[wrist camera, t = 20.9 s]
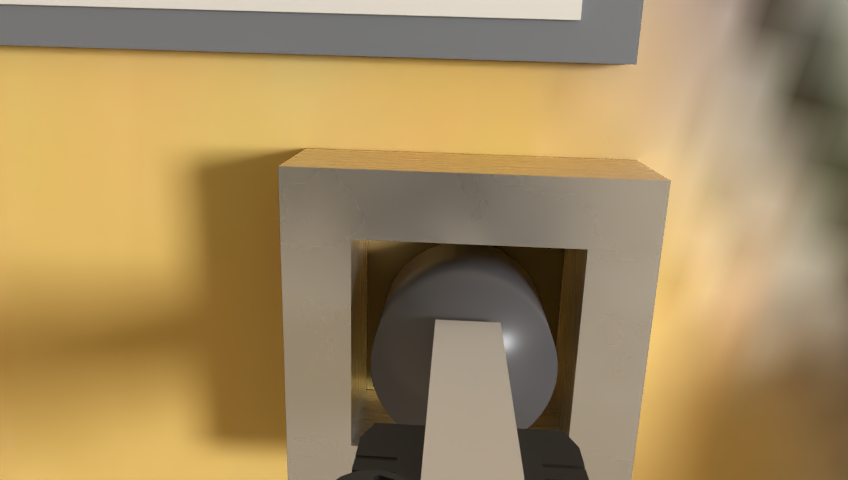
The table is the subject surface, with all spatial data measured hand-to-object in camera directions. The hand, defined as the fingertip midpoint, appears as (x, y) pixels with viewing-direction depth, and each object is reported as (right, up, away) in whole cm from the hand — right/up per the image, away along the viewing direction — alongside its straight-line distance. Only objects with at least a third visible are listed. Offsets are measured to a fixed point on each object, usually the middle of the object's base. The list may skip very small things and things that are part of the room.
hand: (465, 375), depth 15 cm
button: (0, +1, +3) cm, 4 cm away
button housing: (0, +1, +4) cm, 4 cm away
